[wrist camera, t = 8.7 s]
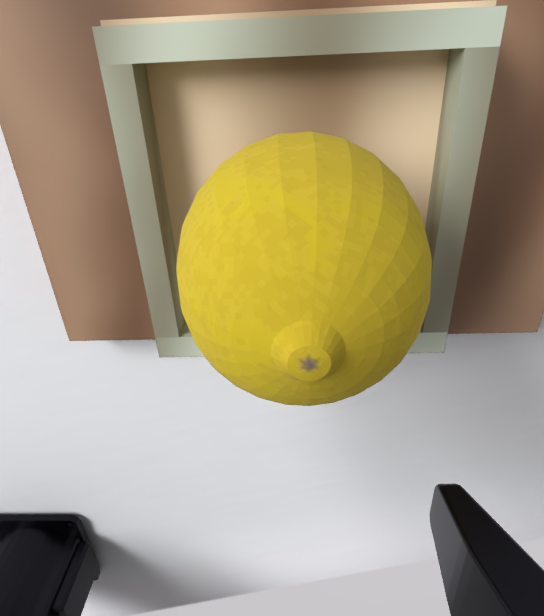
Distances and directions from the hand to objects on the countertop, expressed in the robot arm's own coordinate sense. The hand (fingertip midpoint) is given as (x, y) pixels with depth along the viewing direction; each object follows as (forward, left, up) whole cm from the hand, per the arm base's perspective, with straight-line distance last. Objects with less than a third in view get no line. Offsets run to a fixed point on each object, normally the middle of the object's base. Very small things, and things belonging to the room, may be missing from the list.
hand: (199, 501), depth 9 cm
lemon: (+2, +3, -8) cm, 9 cm away
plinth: (+2, +3, -12) cm, 13 cm away
